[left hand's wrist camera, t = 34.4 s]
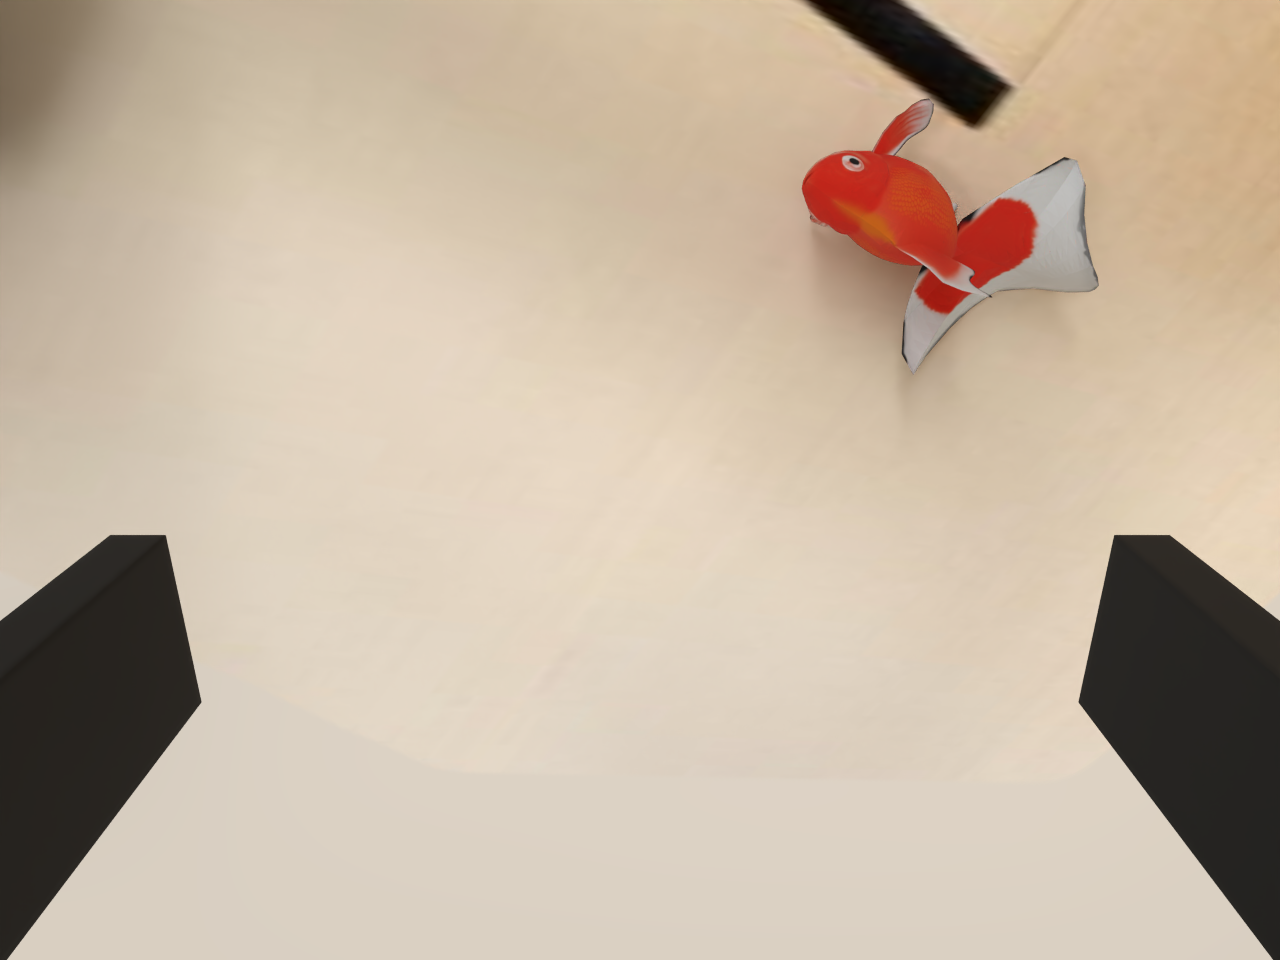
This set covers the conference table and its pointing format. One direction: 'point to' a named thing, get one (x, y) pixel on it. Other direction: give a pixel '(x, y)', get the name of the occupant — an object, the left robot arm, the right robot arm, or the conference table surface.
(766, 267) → the conference table surface
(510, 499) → the conference table surface
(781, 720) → the conference table surface
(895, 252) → the fish
